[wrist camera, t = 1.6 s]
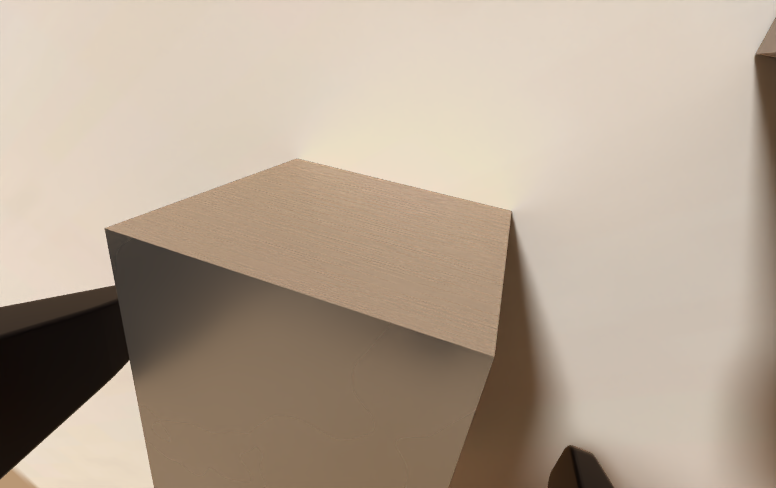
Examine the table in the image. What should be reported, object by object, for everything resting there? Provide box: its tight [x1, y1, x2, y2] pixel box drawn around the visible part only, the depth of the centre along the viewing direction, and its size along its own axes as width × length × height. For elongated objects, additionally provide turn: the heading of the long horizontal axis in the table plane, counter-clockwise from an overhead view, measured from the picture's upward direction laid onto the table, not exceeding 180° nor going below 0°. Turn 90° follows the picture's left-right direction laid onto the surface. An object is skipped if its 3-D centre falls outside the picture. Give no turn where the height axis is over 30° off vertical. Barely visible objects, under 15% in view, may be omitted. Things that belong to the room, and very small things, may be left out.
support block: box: [105, 159, 512, 488], centre depth 8 cm, size 5×7×5 cm
